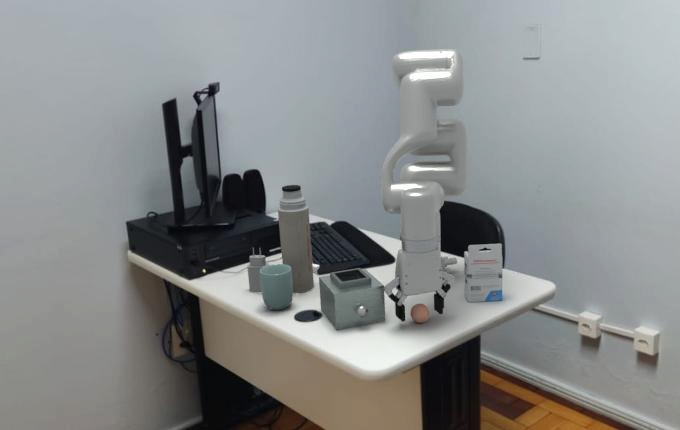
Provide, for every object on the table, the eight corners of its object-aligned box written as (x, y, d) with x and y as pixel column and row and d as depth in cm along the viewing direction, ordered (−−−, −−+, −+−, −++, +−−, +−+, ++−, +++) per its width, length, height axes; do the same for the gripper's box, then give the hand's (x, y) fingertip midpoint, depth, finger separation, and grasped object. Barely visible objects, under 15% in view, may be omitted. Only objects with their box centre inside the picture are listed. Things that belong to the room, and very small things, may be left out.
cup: (281, 315, 150) (278, 276, 148) (256, 309, 154) (253, 272, 152) (300, 303, 156) (297, 266, 154) (275, 298, 161) (272, 262, 158)
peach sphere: (424, 316, 145) (424, 299, 144) (433, 324, 141) (432, 306, 140) (407, 320, 144) (406, 302, 143) (415, 327, 140) (415, 309, 139)
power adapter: (252, 287, 169) (248, 245, 165) (271, 288, 168) (268, 245, 165) (249, 292, 166) (244, 249, 163) (268, 292, 165) (264, 249, 162)
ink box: (497, 293, 156) (498, 237, 152) (502, 301, 151) (503, 243, 148) (463, 294, 156) (463, 239, 152) (467, 302, 152) (467, 245, 148)
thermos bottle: (317, 282, 170) (310, 182, 162) (309, 293, 162) (302, 189, 155) (289, 281, 171) (281, 183, 164) (280, 292, 164) (272, 189, 157)
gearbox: (366, 302, 155) (365, 263, 152) (388, 324, 142) (387, 282, 140) (321, 310, 152) (318, 271, 149) (339, 334, 139) (336, 291, 136)
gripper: (445, 234, 143) (446, 303, 148) (375, 245, 138) (378, 316, 143) (461, 243, 137) (461, 315, 141) (389, 254, 131) (391, 329, 136)
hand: (420, 315), depth 142 cm, fingers open, 9 cm apart
